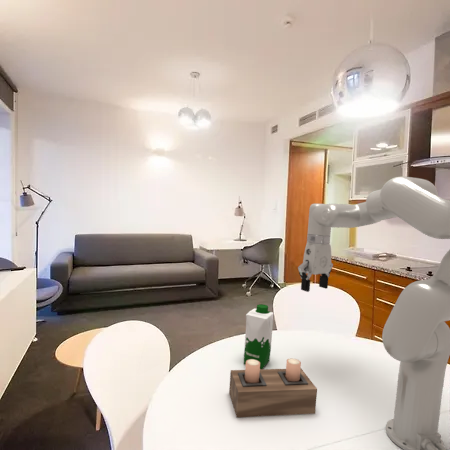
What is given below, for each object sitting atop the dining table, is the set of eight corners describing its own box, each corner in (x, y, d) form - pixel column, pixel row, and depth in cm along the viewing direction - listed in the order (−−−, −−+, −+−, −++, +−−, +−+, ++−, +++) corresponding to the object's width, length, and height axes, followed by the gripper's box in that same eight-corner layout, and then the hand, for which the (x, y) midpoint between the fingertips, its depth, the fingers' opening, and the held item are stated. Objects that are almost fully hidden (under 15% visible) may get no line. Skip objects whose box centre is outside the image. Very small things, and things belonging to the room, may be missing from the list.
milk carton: (272, 361, 119) (276, 306, 117) (263, 371, 111) (267, 313, 109) (250, 354, 123) (253, 301, 121) (239, 364, 115) (243, 308, 114)
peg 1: (260, 390, 91) (261, 365, 90) (245, 391, 90) (247, 366, 90) (256, 382, 95) (258, 358, 94) (242, 383, 94) (244, 358, 94)
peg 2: (301, 389, 93) (303, 364, 93) (287, 389, 92) (289, 365, 92) (295, 381, 97) (297, 357, 96) (282, 381, 96) (284, 358, 96)
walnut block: (315, 413, 91) (317, 387, 90) (236, 417, 87) (238, 390, 86) (299, 390, 101) (301, 367, 101) (229, 392, 98) (230, 368, 97)
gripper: (310, 242, 104) (306, 295, 106) (342, 240, 115) (338, 289, 116) (292, 239, 110) (289, 289, 112) (324, 238, 121) (321, 284, 122)
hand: (314, 289), depth 114 cm, fingers open, 9 cm apart
